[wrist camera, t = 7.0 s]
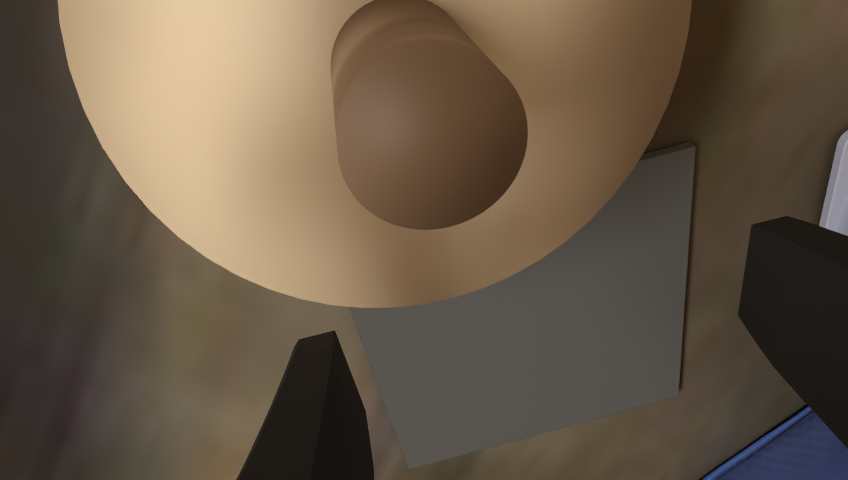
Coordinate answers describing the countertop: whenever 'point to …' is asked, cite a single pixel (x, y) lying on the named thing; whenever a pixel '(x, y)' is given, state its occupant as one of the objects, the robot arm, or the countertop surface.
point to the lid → (374, 129)
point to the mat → (547, 329)
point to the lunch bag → (790, 454)
